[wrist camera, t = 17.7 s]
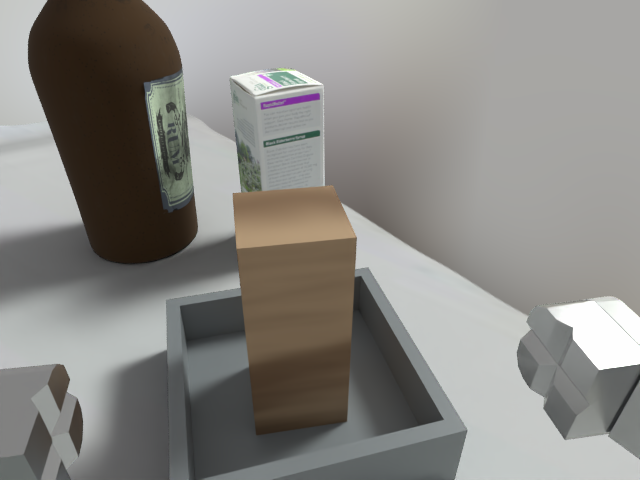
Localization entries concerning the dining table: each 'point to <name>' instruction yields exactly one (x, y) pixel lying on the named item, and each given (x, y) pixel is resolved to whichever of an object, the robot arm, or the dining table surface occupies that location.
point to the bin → (313, 442)
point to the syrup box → (278, 129)
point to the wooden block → (296, 304)
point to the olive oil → (118, 123)
